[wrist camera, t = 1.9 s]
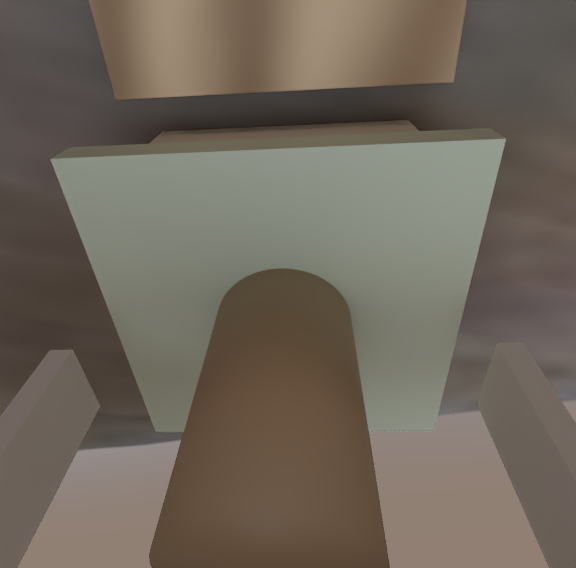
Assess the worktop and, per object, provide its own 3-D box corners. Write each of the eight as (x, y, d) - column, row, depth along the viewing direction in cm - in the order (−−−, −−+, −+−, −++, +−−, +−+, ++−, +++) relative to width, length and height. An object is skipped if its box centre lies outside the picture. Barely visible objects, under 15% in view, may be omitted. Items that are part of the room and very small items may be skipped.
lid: (163, 411, 20) (77, 656, 12) (70, 147, 13) (-277, 350, 5) (427, 409, 19) (507, 667, 12) (489, 128, 12) (810, 330, 4)
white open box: (203, 319, 24) (178, 397, 19) (162, 131, 18) (109, 176, 13) (386, 315, 24) (408, 395, 19) (408, 119, 18) (449, 162, 13)
